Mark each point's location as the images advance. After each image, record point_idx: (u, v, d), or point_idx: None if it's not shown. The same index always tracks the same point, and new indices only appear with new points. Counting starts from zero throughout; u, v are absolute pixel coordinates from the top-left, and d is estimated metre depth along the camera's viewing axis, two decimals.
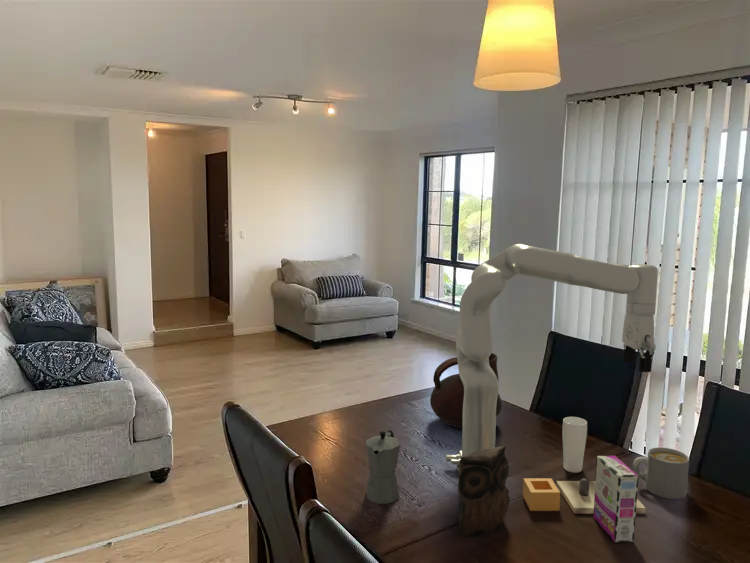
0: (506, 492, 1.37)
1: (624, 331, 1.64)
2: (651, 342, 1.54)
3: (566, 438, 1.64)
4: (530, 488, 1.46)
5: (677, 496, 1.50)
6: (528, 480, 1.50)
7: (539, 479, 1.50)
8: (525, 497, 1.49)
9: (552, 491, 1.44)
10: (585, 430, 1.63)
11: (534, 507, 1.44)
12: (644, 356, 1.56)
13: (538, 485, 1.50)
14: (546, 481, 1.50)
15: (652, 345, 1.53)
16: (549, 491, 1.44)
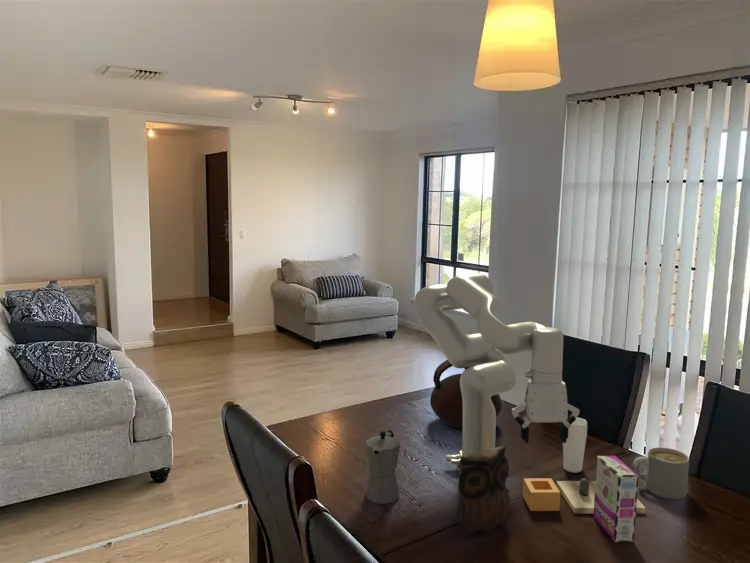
0: (506, 492, 1.37)
1: (535, 408, 1.41)
2: (573, 407, 1.44)
3: (566, 438, 1.64)
4: (530, 488, 1.46)
5: (677, 496, 1.50)
6: (528, 480, 1.50)
7: (539, 479, 1.50)
8: (525, 497, 1.49)
9: (552, 491, 1.44)
10: (585, 430, 1.63)
11: (534, 507, 1.44)
12: (570, 424, 1.44)
13: (538, 485, 1.50)
14: (546, 481, 1.50)
15: (578, 409, 1.44)
16: (549, 491, 1.44)
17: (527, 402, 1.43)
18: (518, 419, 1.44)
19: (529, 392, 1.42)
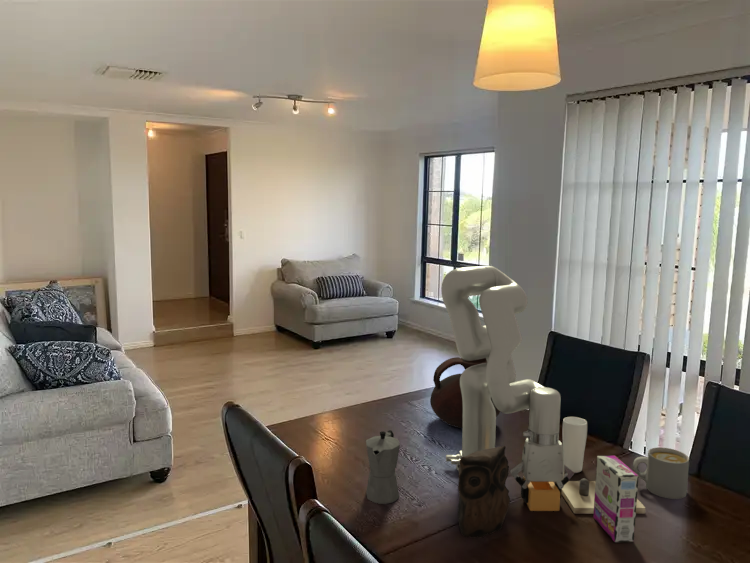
0: (506, 492, 1.37)
1: (532, 468, 1.44)
2: (569, 468, 1.47)
3: (566, 438, 1.64)
4: (530, 488, 1.46)
5: (677, 496, 1.50)
6: None
7: None
8: None
9: (552, 491, 1.44)
10: (585, 430, 1.63)
11: (534, 507, 1.44)
12: (563, 485, 1.46)
13: (538, 485, 1.50)
14: None
15: (572, 471, 1.47)
16: (549, 491, 1.44)
17: (524, 461, 1.45)
18: (518, 480, 1.46)
19: (526, 452, 1.44)
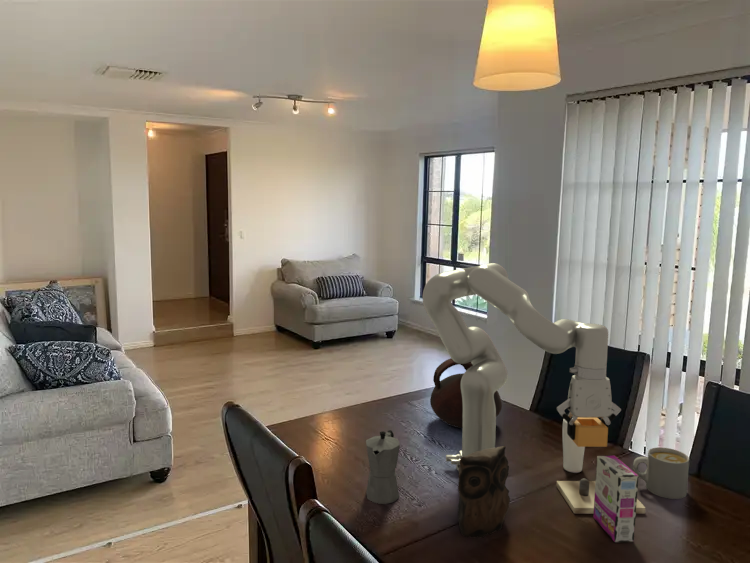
0: (506, 492, 1.37)
1: (580, 403, 1.44)
2: None
3: (566, 438, 1.64)
4: (577, 424, 1.45)
5: (677, 496, 1.50)
6: None
7: None
8: None
9: (600, 427, 1.44)
10: None
11: (582, 443, 1.44)
12: (610, 422, 1.46)
13: (583, 423, 1.49)
14: (592, 419, 1.49)
15: None
16: (597, 427, 1.44)
17: (571, 397, 1.45)
18: (565, 416, 1.46)
19: (574, 387, 1.44)
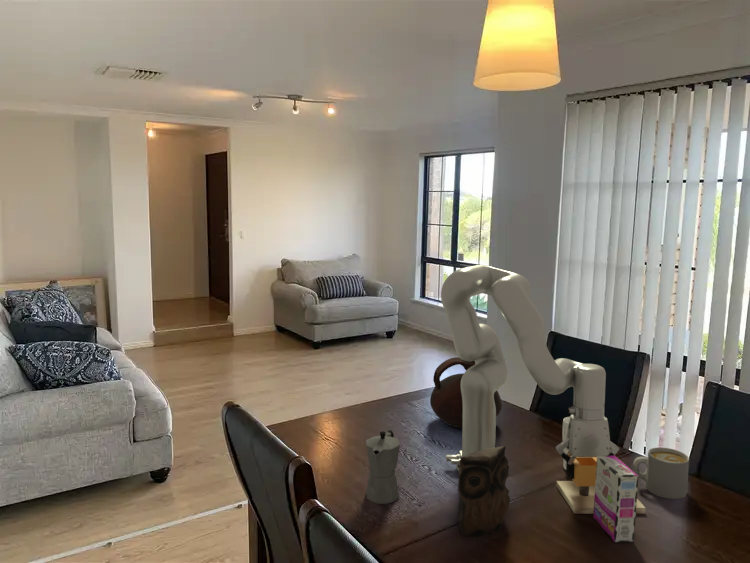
0: (506, 492, 1.37)
1: (578, 444, 1.45)
2: None
3: None
4: (576, 464, 1.47)
5: (677, 496, 1.50)
6: None
7: None
8: None
9: None
10: None
11: (581, 483, 1.45)
12: None
13: (582, 462, 1.51)
14: (591, 458, 1.51)
15: (617, 446, 1.48)
16: None
17: (570, 437, 1.46)
18: (564, 456, 1.47)
19: (572, 428, 1.45)
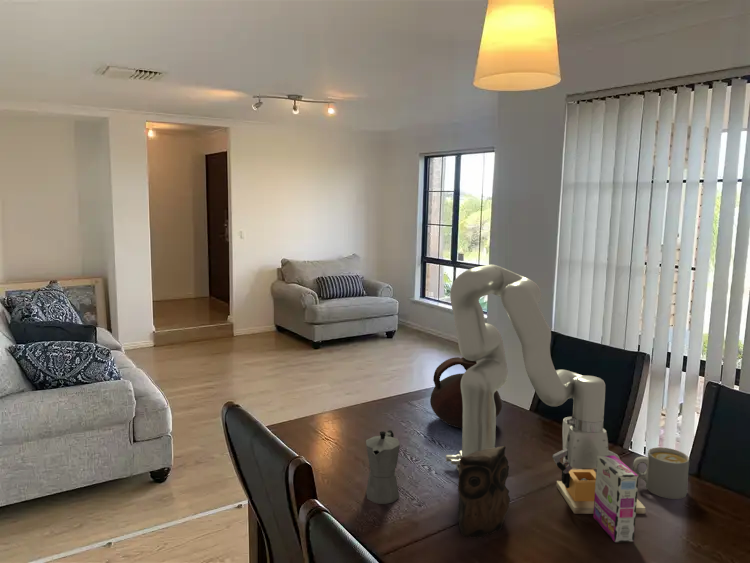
0: (506, 492, 1.37)
1: (577, 455, 1.45)
2: (613, 453, 1.48)
3: (566, 438, 1.64)
4: (574, 479, 1.47)
5: (677, 496, 1.50)
6: (571, 471, 1.52)
7: (581, 470, 1.52)
8: (568, 488, 1.51)
9: None
10: None
11: (578, 497, 1.46)
12: None
13: (580, 476, 1.51)
14: (588, 472, 1.51)
15: None
16: (593, 482, 1.46)
17: (569, 449, 1.47)
18: (560, 465, 1.48)
19: (571, 439, 1.46)
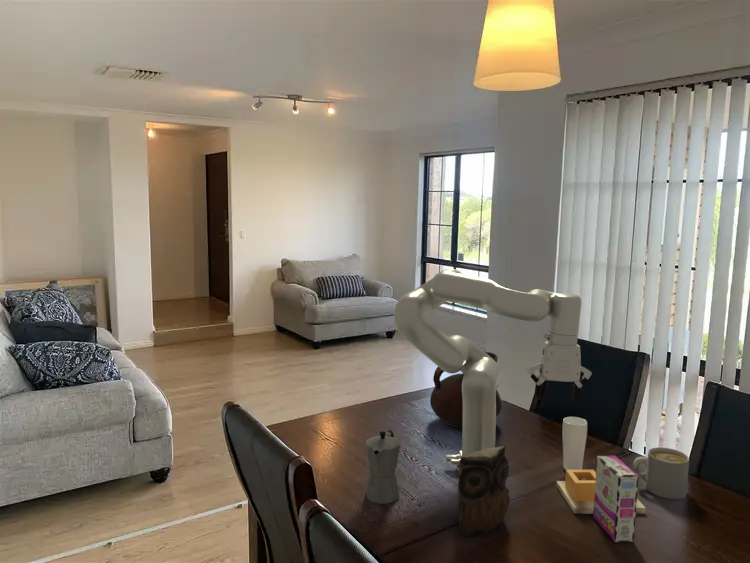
0: (506, 492, 1.37)
1: (550, 367, 1.52)
2: (586, 369, 1.55)
3: (566, 438, 1.64)
4: (574, 479, 1.47)
5: (677, 496, 1.50)
6: (571, 471, 1.52)
7: (581, 470, 1.52)
8: (568, 488, 1.51)
9: None
10: (585, 430, 1.63)
11: (578, 497, 1.46)
12: (581, 385, 1.54)
13: (580, 476, 1.51)
14: (588, 472, 1.51)
15: None
16: (593, 482, 1.46)
17: (543, 361, 1.53)
18: (533, 377, 1.55)
19: (545, 352, 1.53)
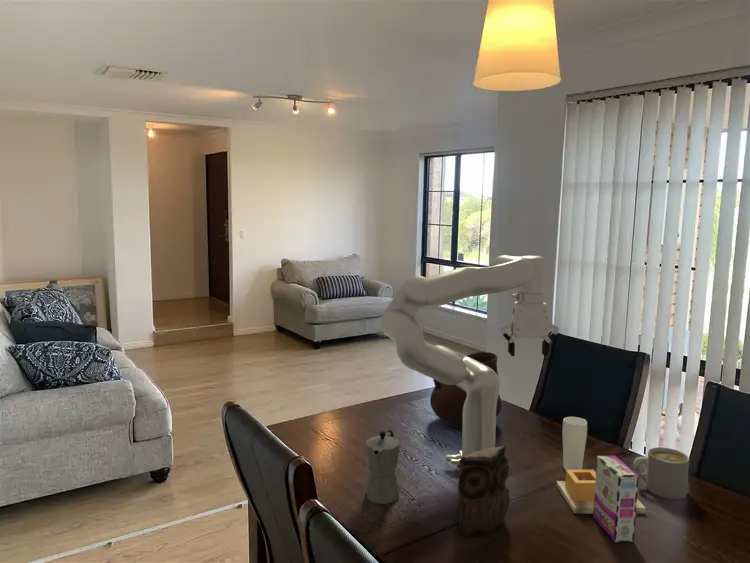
0: (506, 492, 1.37)
1: (520, 325, 1.63)
2: (554, 325, 1.66)
3: (566, 438, 1.64)
4: (574, 479, 1.47)
5: (677, 496, 1.50)
6: (571, 471, 1.52)
7: (581, 470, 1.52)
8: (568, 488, 1.51)
9: None
10: (585, 430, 1.63)
11: (578, 497, 1.46)
12: (550, 340, 1.66)
13: (580, 476, 1.51)
14: (588, 472, 1.51)
15: (557, 327, 1.66)
16: (593, 482, 1.46)
17: (513, 320, 1.64)
18: (505, 335, 1.65)
19: (515, 311, 1.64)
